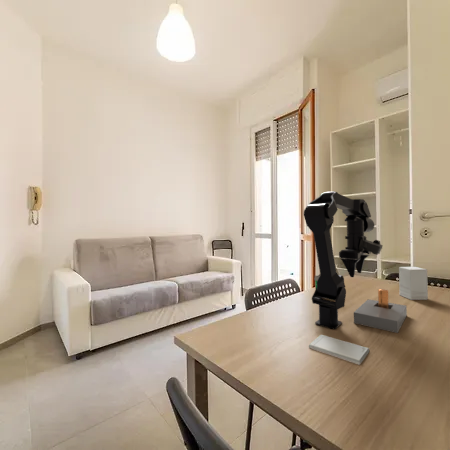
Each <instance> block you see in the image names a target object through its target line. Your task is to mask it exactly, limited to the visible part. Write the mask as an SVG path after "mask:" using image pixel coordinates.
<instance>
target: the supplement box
mask: <svg viewBox="0 0 450 450" xmlns="http://www.w3.org/2000/svg"><path fill="white" fill-rule="evenodd" d="M398 277H399V278H398V283H399V286H398V287H399V291H398V292H399V296H401V297H403V298H406V299H408V300H411V301H412V300H417V301H418V300H419V301H421V300H423V301H425V300H426V301H427V300H428V299H429V298H428V297H429V294H428V292H429V289H428V284H429V283H428V269H427V268H421V267H418V266H399V267H398Z"/></svg>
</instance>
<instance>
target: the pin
mask: <svg viewBox="0 0 450 450" xmlns="http://www.w3.org/2000/svg"><path fill="white" fill-rule="evenodd" d="M377 295H378V296H377V298H378V299H377V301H378V307H381V308H386V309H389V305H388V303H389V290H388V289H385V288H378V289H377Z"/></svg>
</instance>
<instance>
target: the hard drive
mask: <svg viewBox="0 0 450 450" xmlns="http://www.w3.org/2000/svg"><path fill="white" fill-rule="evenodd" d="M308 348H309V349H312V350H314V351H317V352H320V353H323V354H326V355H329V356H332V357H336V358H338V359H340V360H344V361H346V362H350V363H352V364H356V365H359V366H360V365H361V364H362V363H363V362H364V360H365V358H366V357H367V356H368V354H369V352H370V348H369V347H365V346H361V345H360V344H356V343H353V342H352V343H351V342H349V341H346V340H345V341H344V340H341V339H339V338H335V337H331V336H328V335H326V334H325V335H323V334H319V336H318V337H316V338H315V339H314V340H312V342H310V343H309V345H308Z"/></svg>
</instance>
